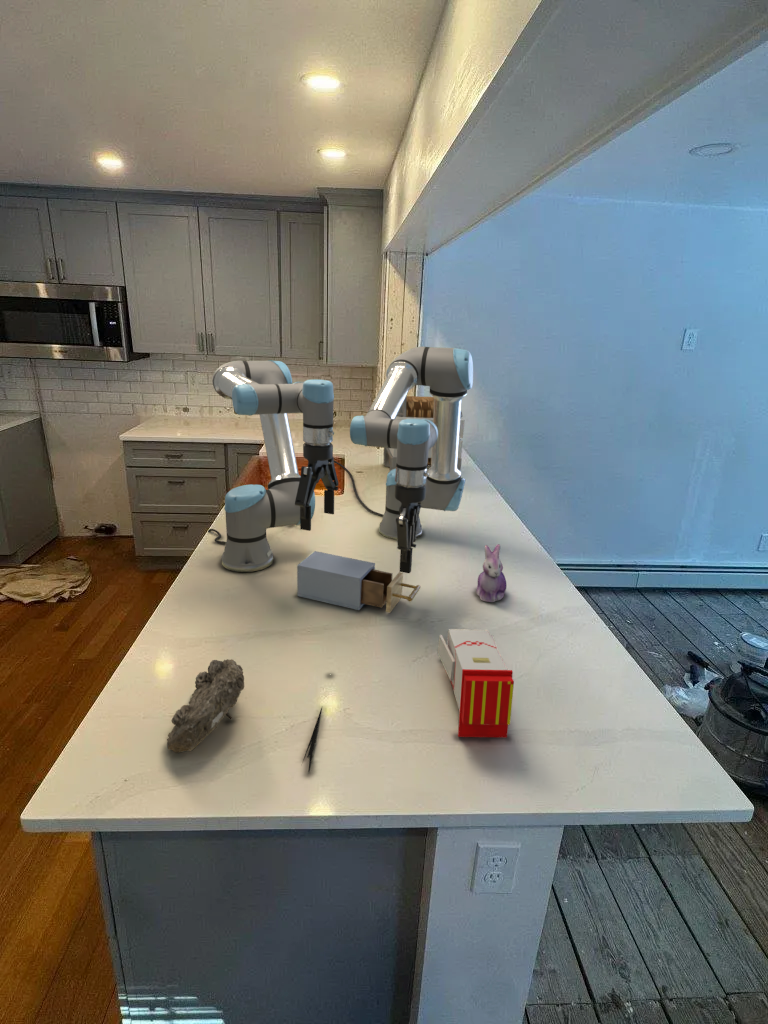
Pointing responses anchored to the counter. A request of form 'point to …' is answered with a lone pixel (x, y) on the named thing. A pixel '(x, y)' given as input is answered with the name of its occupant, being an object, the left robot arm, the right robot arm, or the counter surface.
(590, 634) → the counter surface
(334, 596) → the cabinet
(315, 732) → the feather
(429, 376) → the right robot arm
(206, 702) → the fossil
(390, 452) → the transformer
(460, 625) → the counter surface
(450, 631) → the toy
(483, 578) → the figurine
